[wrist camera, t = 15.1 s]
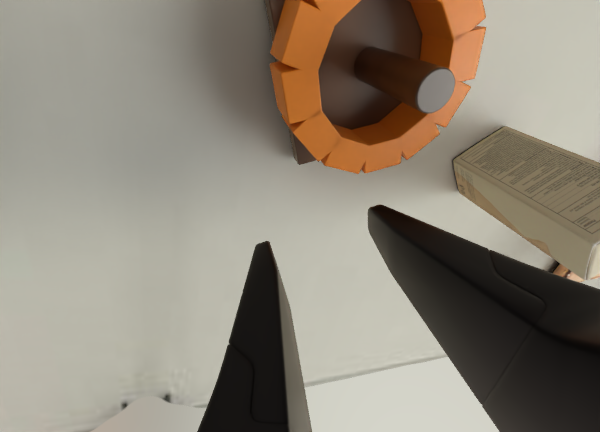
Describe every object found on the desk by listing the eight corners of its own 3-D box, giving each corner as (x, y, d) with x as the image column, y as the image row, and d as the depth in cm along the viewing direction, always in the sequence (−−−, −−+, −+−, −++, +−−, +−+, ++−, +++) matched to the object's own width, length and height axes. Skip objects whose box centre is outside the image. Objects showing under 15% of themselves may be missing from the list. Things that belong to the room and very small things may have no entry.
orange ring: (289, 171, 19) (300, 192, 17) (249, -43, 12) (259, -50, 11) (434, 132, 21) (459, 147, 19) (467, -80, 14) (512, -92, 12)
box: (457, 193, 27) (580, 286, 18) (450, 158, 24) (591, 248, 15) (510, 161, 26) (662, 241, 18) (509, 121, 23) (688, 193, 15)
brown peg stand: (293, 157, 20) (331, 220, 14) (258, -32, 14) (300, -50, 8) (425, 121, 21) (506, 165, 16) (448, -69, 15) (597, -107, 9)
